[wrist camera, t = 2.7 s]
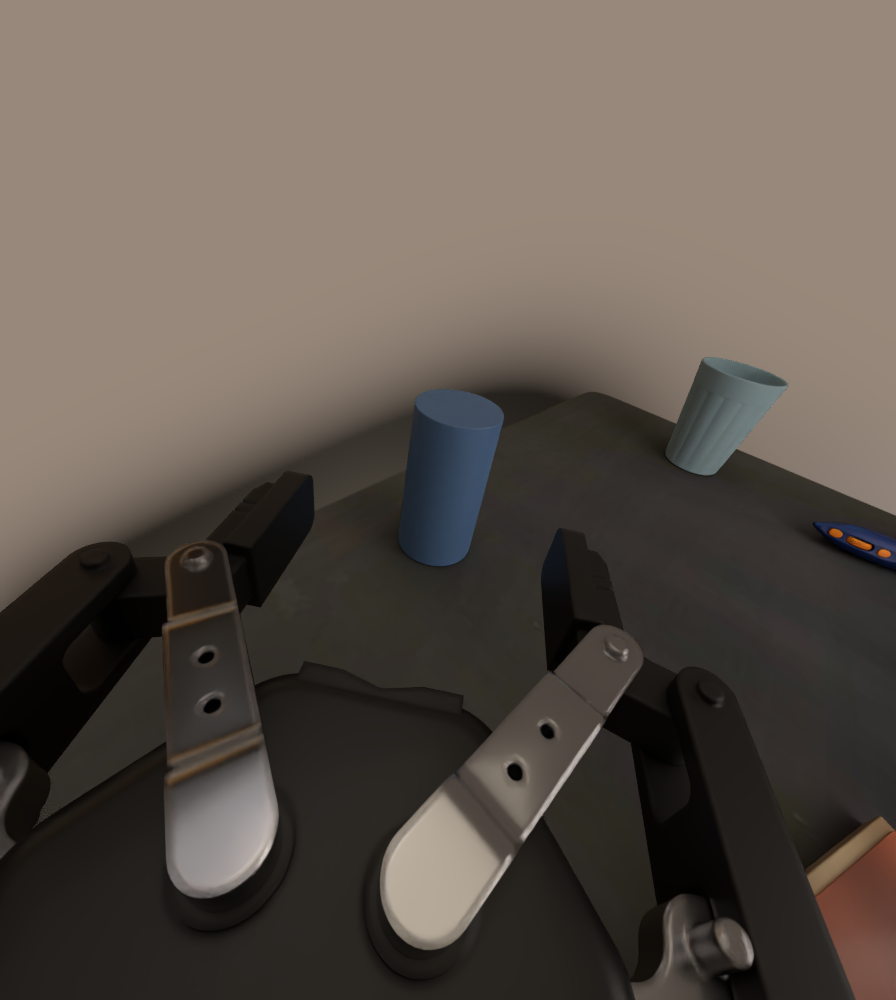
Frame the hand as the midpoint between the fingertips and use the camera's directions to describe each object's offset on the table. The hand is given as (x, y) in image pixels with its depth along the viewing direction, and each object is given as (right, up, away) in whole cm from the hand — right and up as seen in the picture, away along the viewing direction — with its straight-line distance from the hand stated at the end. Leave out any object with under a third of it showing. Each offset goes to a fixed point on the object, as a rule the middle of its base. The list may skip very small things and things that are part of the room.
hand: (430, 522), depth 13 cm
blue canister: (0, -2, +15) cm, 15 cm away
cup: (+27, +5, +33) cm, 43 cm away
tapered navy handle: (+40, -5, +22) cm, 46 cm away
